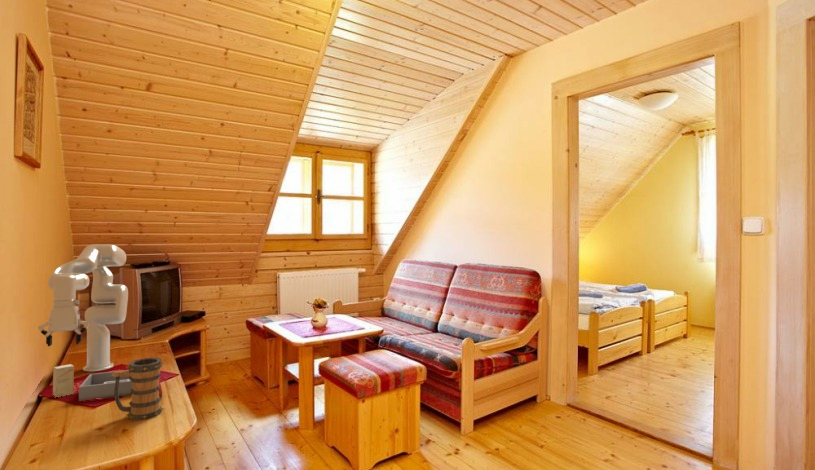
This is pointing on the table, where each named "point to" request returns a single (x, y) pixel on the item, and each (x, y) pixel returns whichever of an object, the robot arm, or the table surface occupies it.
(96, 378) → the walled box
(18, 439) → the table surface
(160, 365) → the mug
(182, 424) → the table surface
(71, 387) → the skincare box
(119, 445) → the table surface
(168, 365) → the table surface
